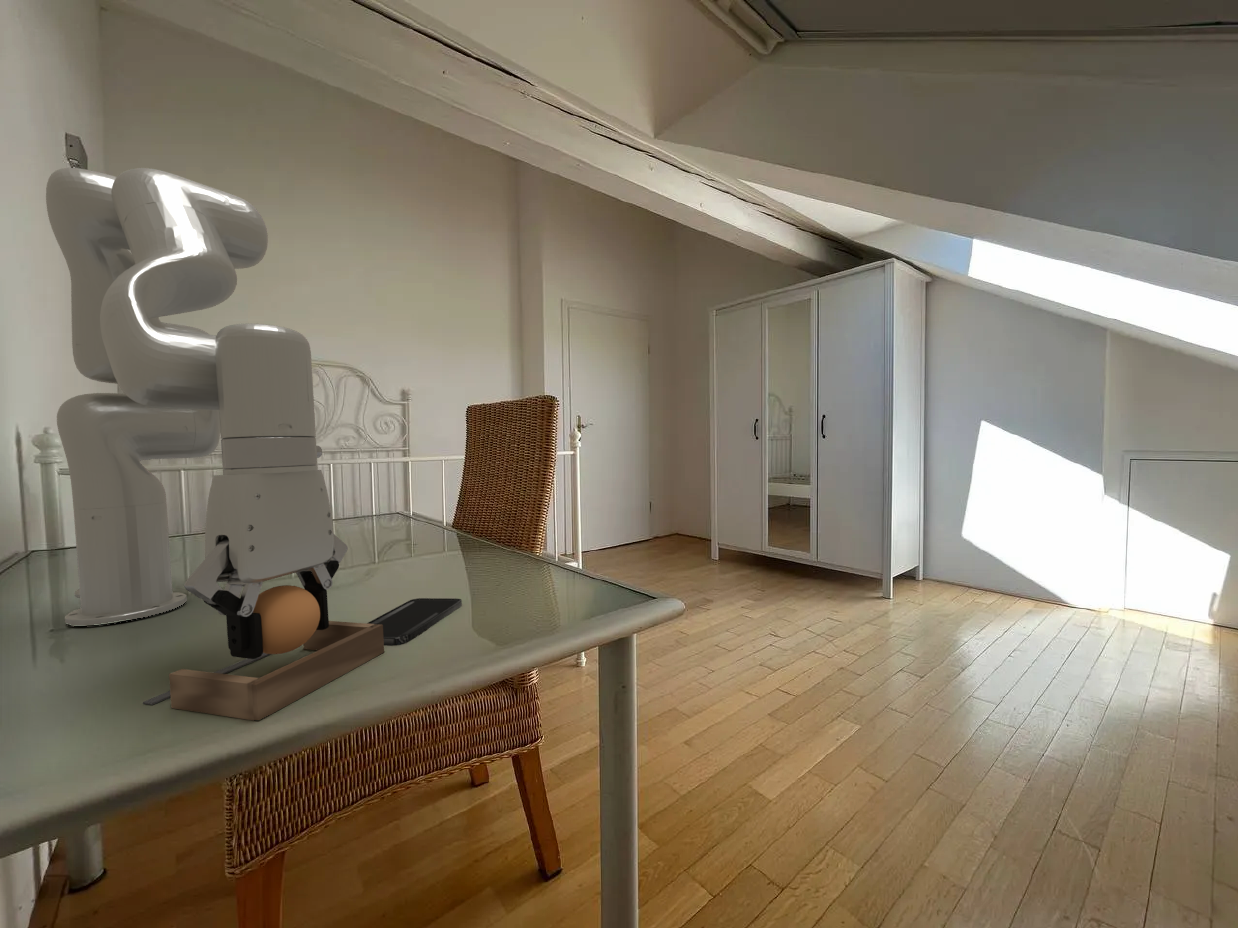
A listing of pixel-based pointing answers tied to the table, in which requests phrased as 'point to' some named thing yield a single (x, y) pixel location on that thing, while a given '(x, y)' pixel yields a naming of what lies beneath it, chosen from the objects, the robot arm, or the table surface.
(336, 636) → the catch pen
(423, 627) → the phone
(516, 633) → the table surface
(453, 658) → the table surface
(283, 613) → the brown egg
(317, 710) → the table surface
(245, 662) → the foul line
